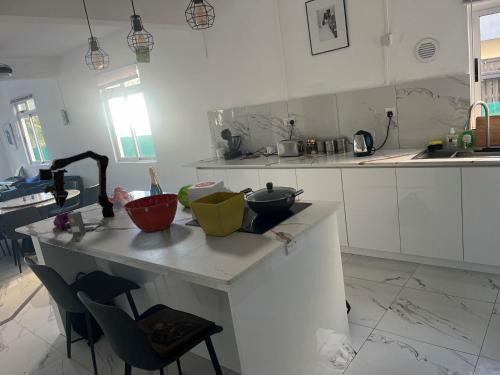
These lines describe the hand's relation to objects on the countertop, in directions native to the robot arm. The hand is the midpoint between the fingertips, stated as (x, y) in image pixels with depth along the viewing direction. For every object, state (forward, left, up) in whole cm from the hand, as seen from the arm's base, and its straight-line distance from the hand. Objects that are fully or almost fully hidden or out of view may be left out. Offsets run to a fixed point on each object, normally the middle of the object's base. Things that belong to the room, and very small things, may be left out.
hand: (59, 206), depth 220 cm
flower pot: (-76, +77, -15) cm, 109 cm away
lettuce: (-76, +19, -15) cm, 80 cm away
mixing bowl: (-49, +44, -15) cm, 68 cm away
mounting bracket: (+1, -8, -15) cm, 17 cm away
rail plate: (-12, +10, -14) cm, 21 cm away
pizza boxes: (-83, +45, -15) cm, 96 cm away
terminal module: (-9, +20, -14) cm, 26 cm away
